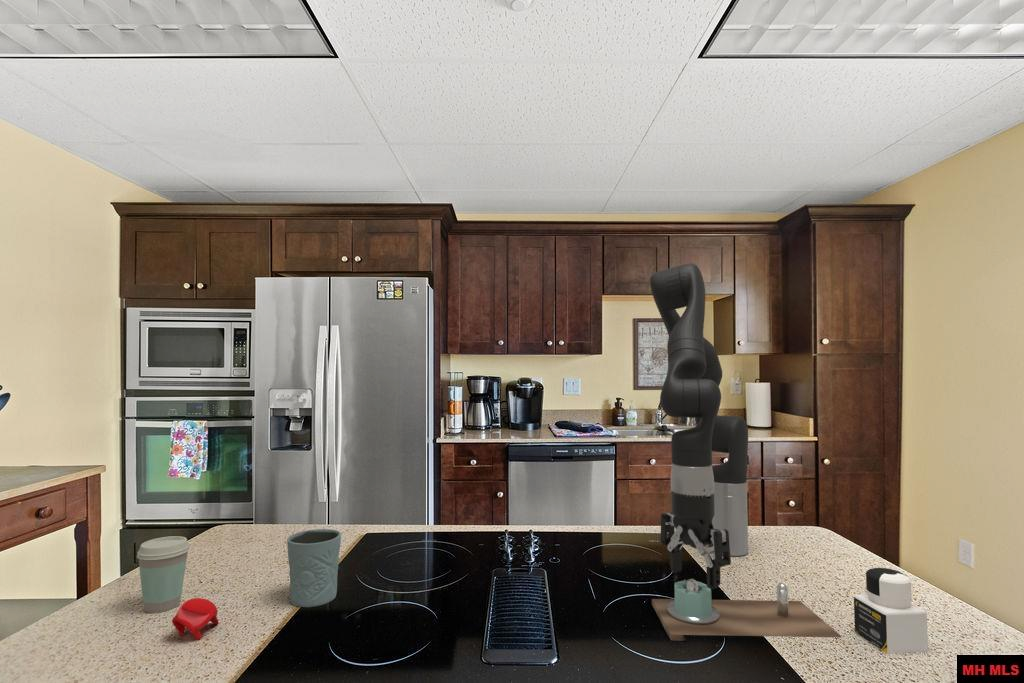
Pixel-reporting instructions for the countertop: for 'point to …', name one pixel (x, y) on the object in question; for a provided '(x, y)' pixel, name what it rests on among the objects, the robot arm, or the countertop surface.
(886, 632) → the medicine bottle
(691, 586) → the steel hub
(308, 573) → the embossed green cup
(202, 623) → the red toy chair
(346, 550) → the countertop surface
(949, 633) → the countertop surface
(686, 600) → the sage ring
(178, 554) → the coffee cup
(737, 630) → the walnut board
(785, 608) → the stand rod
